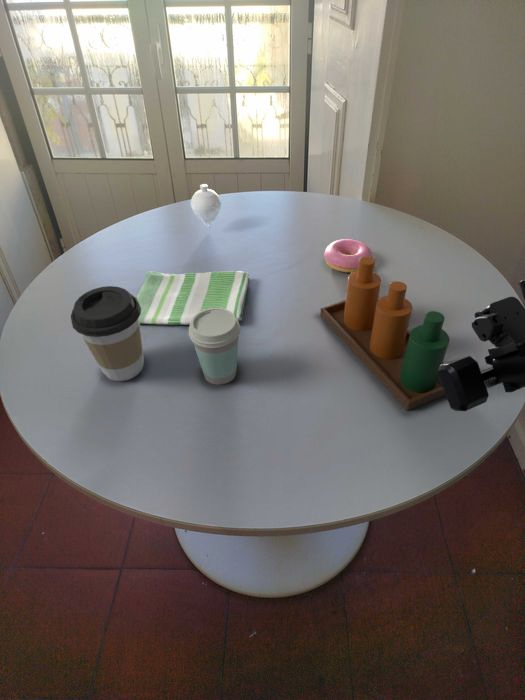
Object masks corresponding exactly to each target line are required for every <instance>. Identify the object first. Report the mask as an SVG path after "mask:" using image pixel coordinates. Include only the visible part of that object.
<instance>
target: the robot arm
mask: <svg viewBox="0 0 525 700" xmlns="http://www.w3.org/2000/svg"><path fill="white" fill-rule="evenodd" d="M517 283H518V286H519V288H520V292H521V294H522V297H523V300H524V301H525V278H523V279H521V280H518V281H517ZM474 318H475V319H474V320H472V321H471V328H472V330H473V331H474V333H475V334H476V336H477V337H478V339H479V340H480V341H482V342H487V341H489V342H490V344H492V345H493V346H490V347H488V348H487V352H488V355H486V356H484V361H485V363H486V364H487V365H490V367H487V368H486V369H483V370H481V368H480V366H479V365H480V364H479V362H478V361H477V360H476V359H474V358H473V357H472V355H467V356H461V357H457V358H454V359H452V360H448V361H447V362H444V364H442V365H440V366H439V369H438V373H439V375H438V376H436V380H437V383H438V384H439V385H440V386H442V387H443V388H444V390H445V393H446V395H445V396H446V399H447V402H448V405H449V408H450V409H451V410H453V411H455V412H467V411H470V410H472V409H474V408H476V407H478V406H481V405H483V404H485V403H486V402H487V401H488V398H489V397H490V394H489V392H488V391H489V389H491V388H493V387H496V386H499V385H501V384H502V386H503V388H504V391H505V393H514V392H515V391H518V390H520V389H522V388H525V307H524V305H523V303H522V302H521V301H520V300H519V299H518V298H517V297H515V296H508V297H505V298H502V299H500V300H496V301H494V302H491V303H490V304H489V305H488V306H486V307H485V308H483V309H482V310H479V311H477V312H475V313H474Z"/></svg>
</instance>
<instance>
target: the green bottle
mask: <svg viewBox="0 0 525 700" xmlns="http://www.w3.org/2000/svg"><path fill="white" fill-rule="evenodd" d="M445 318H446V317H445V316H444V314H443V313H441V312H439V311H436V310H430V311H428V312H426V314H425V316H424V319H423V323H422V324H418V325H416V326H414V327H413V328H412V329H411V330H410V336H409V340H408V344H407V349H406V353H405V357H404V361H403V365H402V370H401V374H400V381H401V383H402V385H403V386H404V387H405V388H407V389H408V390H410V391H413V392H417V393H426V392H429V391H431V390H433V389H434V387H435V385H436V382H437V380H436V376H438V375H439V373H438V369H439V366H440V365H442V363H443V362H444V360H445V357H446V354H447V350H448V348H449V344H450V336H449V334H448V333H447V332H446V331H445V330H444V329H443V326H444V322H445Z"/></svg>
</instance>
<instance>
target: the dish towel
mask: <svg viewBox="0 0 525 700" xmlns="http://www.w3.org/2000/svg"><path fill="white" fill-rule="evenodd" d="M249 276H250V274H249V272H246V271H243V270H238V271H237V270H234V271H209V272H208V271H207V272H190V273H182V274H177V273H176V274H175V273H162V272H157V271H153V270H149V271H147V272H146V275H145V278H144V281H143V285H142V287H141V288H140V290H139V292H138V294H137V296H135V297H136V298H137V300H138V302H139V304H140V307H141V314H140V316H139V320H140V324H144V325H145V324H148V325H170V326H174V325H177V326H180V325H185V326H188V325H189V326H190V324H191V320H192V318H193V317H194V316H195V315H196V314H197V313H199V312H200V311H202V310H205V309H209V308H223V309H226V310H229V311H230V312H232V313H233V314H234V315H235V317H236V319H237V320H238V322H240V321H242V320H243V313H244V308H245V302H246V298H247V292H248V287H249V283H250V277H249Z"/></svg>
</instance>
